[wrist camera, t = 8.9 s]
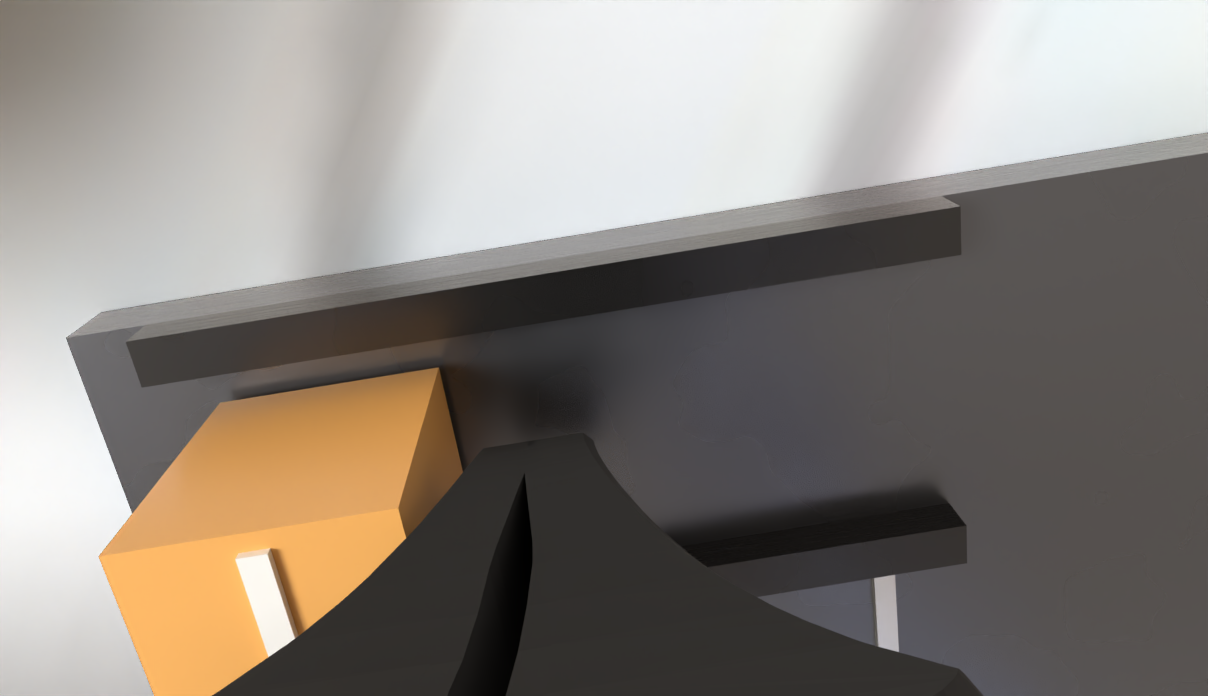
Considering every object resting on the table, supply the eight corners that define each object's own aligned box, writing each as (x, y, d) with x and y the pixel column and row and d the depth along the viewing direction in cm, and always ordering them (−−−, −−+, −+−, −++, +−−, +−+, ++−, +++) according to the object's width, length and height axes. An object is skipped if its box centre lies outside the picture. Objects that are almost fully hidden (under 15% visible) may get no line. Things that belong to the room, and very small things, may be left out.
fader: (482, 554, 13) (460, 750, 10) (279, 588, 13) (186, 795, 10) (439, 367, 12) (396, 513, 9) (219, 402, 12) (93, 562, 9)
